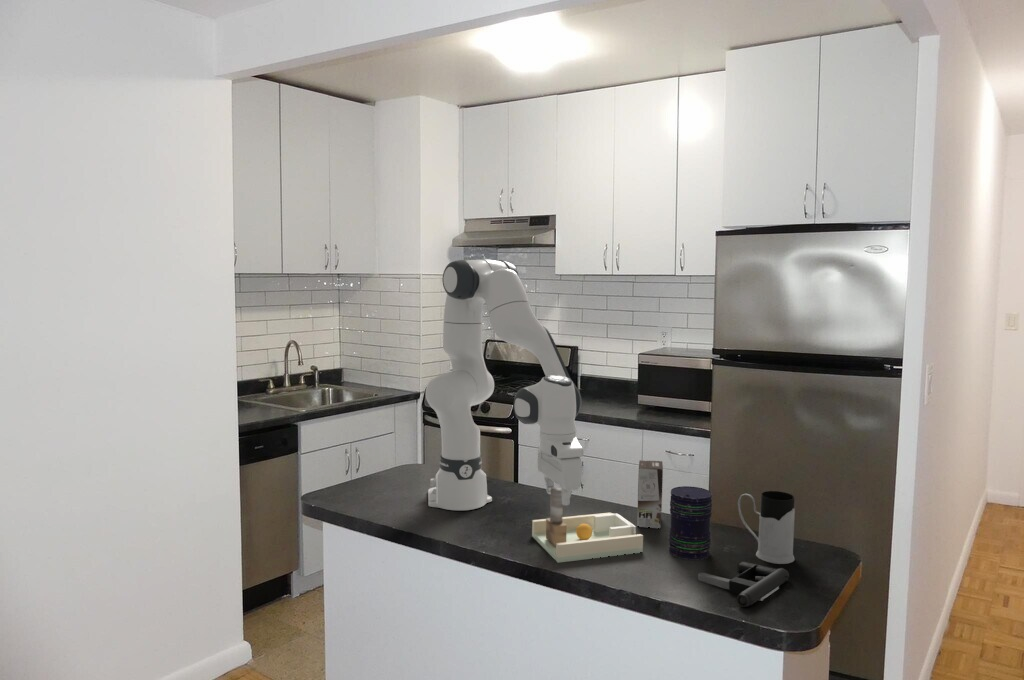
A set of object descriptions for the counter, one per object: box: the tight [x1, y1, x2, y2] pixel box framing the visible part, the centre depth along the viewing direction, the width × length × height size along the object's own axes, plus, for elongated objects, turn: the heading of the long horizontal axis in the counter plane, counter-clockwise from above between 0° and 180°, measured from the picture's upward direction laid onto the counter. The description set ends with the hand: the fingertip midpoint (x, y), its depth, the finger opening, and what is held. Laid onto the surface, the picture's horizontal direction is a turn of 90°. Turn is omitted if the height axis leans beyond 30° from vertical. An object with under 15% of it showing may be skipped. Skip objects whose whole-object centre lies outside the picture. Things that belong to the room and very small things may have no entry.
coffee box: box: [636, 459, 664, 529], centre depth 202 cm, size 9×6×16 cm
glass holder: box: [737, 490, 796, 565], centre depth 181 cm, size 9×14×15 cm, turn 48°
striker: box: [545, 487, 567, 547], centre depth 183 cm, size 6×3×13 cm, turn 18°
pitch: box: [531, 512, 644, 564], centre depth 186 cm, size 18×22×5 cm
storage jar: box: [668, 485, 713, 561], centre depth 181 cm, size 10×10×15 cm
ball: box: [576, 524, 592, 540], centre depth 186 cm, size 4×4×4 cm
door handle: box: [697, 561, 791, 608], centre depth 163 cm, size 3×20×16 cm
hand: (557, 498), depth 183 cm, fingers open, 8 cm apart
